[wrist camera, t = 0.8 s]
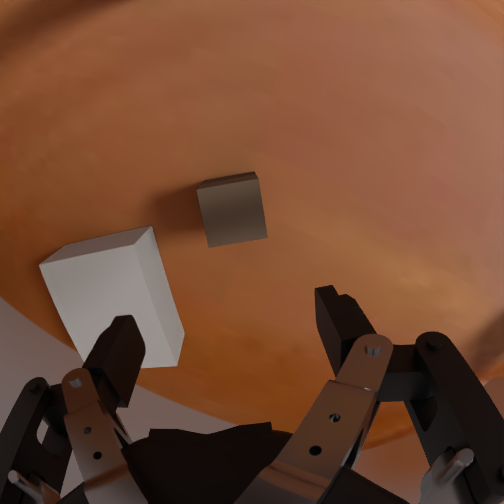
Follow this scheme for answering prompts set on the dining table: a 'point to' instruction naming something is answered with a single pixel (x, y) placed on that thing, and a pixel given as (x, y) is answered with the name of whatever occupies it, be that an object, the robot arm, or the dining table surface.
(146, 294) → the block
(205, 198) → the walnut block
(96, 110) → the dining table surface
